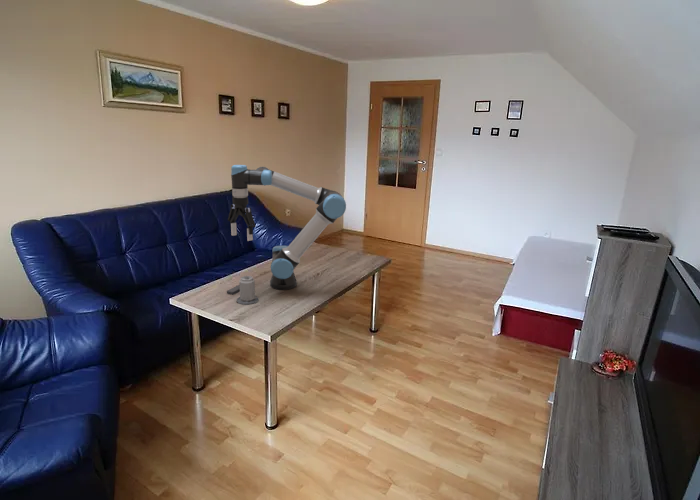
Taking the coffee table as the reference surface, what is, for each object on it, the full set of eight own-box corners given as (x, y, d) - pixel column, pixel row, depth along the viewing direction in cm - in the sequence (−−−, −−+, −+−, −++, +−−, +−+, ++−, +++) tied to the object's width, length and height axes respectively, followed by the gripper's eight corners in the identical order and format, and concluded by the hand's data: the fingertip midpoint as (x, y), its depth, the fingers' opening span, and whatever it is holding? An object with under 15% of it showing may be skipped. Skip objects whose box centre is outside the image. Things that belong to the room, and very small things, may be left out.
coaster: (249, 294, 216) (249, 293, 216) (262, 300, 209) (262, 299, 209) (232, 300, 208) (232, 299, 208) (245, 306, 201) (245, 305, 201)
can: (255, 295, 213) (254, 274, 209) (254, 301, 206) (254, 279, 202) (240, 296, 211) (239, 275, 208) (239, 302, 204) (238, 280, 201)
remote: (232, 295, 214) (232, 291, 214) (226, 294, 216) (226, 290, 215) (249, 287, 227) (249, 283, 226) (243, 285, 228) (243, 281, 227)
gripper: (219, 194, 204) (221, 234, 211) (249, 200, 189) (250, 244, 195) (232, 192, 210) (233, 231, 216) (262, 199, 195) (263, 241, 201)
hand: (241, 237), depth 206 cm, fingers open, 13 cm apart
